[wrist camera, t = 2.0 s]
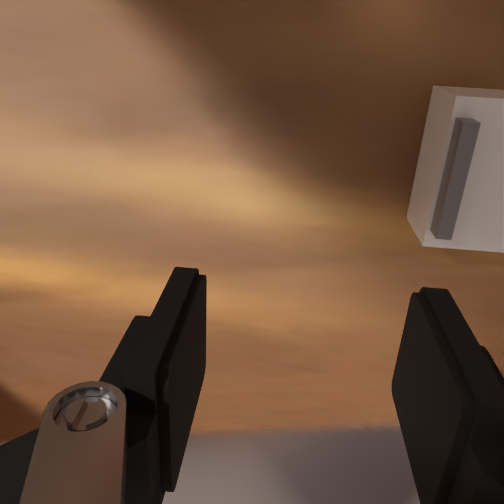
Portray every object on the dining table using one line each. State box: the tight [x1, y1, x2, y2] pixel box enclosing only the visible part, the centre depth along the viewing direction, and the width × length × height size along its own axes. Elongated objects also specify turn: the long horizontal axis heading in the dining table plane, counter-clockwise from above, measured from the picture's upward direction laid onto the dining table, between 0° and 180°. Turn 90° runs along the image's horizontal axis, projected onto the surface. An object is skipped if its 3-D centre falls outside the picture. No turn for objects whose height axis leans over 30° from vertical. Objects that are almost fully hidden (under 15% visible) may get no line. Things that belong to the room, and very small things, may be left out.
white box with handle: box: [406, 85, 504, 253], centre depth 26 cm, size 8×6×6 cm
